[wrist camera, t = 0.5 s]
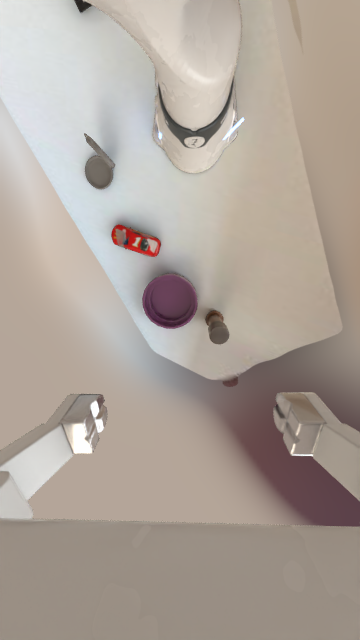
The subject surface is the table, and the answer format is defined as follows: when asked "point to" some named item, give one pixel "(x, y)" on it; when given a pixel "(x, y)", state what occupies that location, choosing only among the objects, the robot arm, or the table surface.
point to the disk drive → (82, 5)
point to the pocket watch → (98, 167)
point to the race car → (135, 240)
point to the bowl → (170, 301)
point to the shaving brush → (217, 327)
